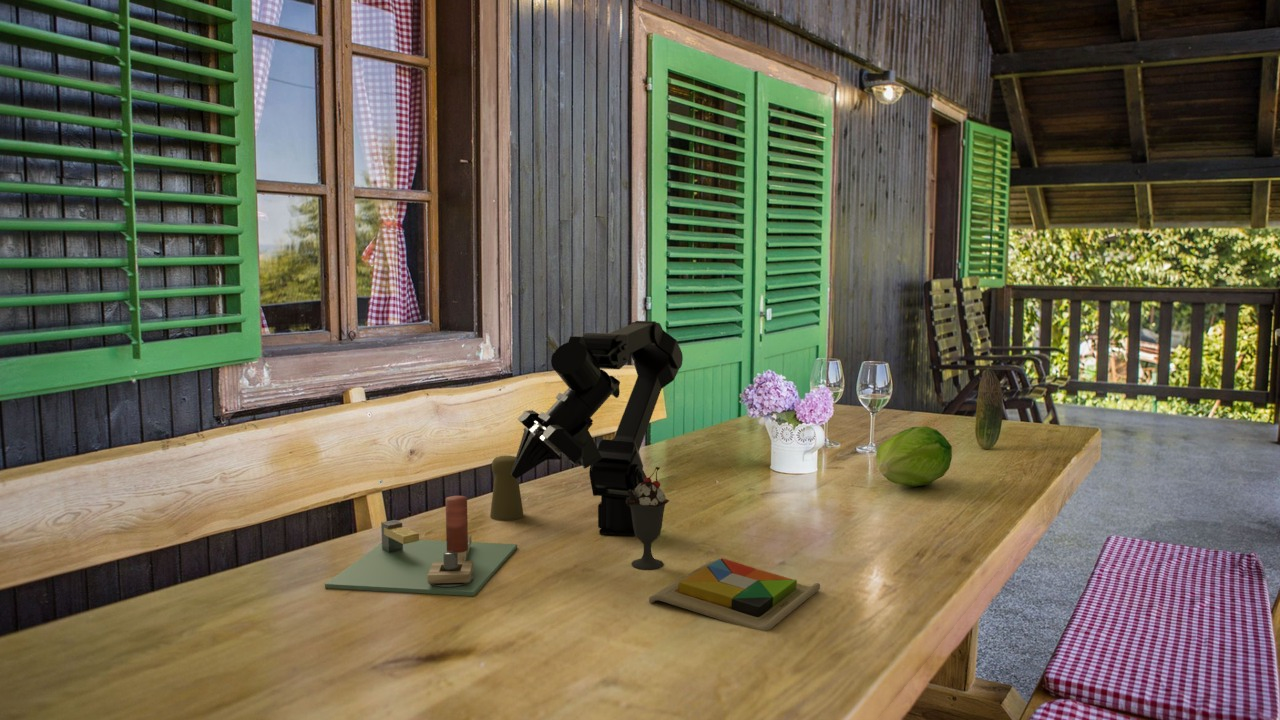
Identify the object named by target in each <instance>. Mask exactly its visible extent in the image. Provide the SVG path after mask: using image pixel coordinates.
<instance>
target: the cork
mask: <svg viewBox="0 0 1280 720" xmlns="http://www.w3.org/2000/svg"><path fill="white" fill-rule="evenodd" d="M515 459H516V456H515V455H500V456H495V457H494V458H493V460H492V461H491V472H492V473H493V474H494V477H493V478H494V479H493V487H492V496H491V499H492V500H491V506H490V514H489V515H490V516H489V517H490V518H491V519H493V520H496V521H505V522H506V521H507V522H508V521H516V520H519V519H521V518H523V517H524V516H525V515H524V509H523V502H522V495H521V489H520V483H519V478H517V479H516V478H514V477H513V476H512V475H511V471H512V468H513V465H514V462H515Z"/></svg>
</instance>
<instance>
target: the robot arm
mask: <svg viewBox="0 0 1280 720" xmlns="http://www.w3.org/2000/svg"><path fill="white" fill-rule="evenodd" d="M568 338H569V339H568V342H565V343H563V344H562V345H560V346H559V347H558V348H556V350H555V351H554V352H553V353H552V355H551V358H550V364H551V367H552V369H553V370H554V372H555V373H556V374H557V375H558V376H559V377H560V378H561V380H562V381H563V382H564V384H565V385H566V386H567V388H568V389H566V390H565V391H564V393H562V392H559V393H557V395H556V396H555V399H556V401H555V403H553V405H552V406H551V407H550V408H549V409H548V410H547V411H546V412H543V411H541V412H540V413H538V412H536V411H535V410H532V409H531V410H524V411H523V413H522V414H521V415H520V416H519V417H518V418H517V421H519V422H520V423H521V424H522V425H523V426H524V428H523V433H522V437H521V441H520V443H519V444H520V445H519V447H518V451H517V453H516V456H515V457H516V459H515V462H514V465H513V468H512V471H511V475H512V476H513V477H514V478H516V479H517V478H518V479H519V478H520V477H522V476H523V475H525V474H526V473H528V472H530V471H531V470H532V469H535V467H537V466H539V465H540V464H542V463H544V462H546V461H548V460H550V461H551V460H554V461H555V460H557V461H562V460H563V457H562V456H561V454H563V455H564V456H565V457H567V459H568V461H569V462H570V463H572V464H573V465H574V466H577V464H578V466H582V469H585V470H586V469H587V468H589V471H588V473H589V479H590V480H589V481H590V485H591V486H590V487H591V491H592V495H593V496H595V497H597V496H599V497H600V502H599V503H598V505H597V527H598V528H599V531H598V533H599V534H600V535H611V536H612V535H614V536H635V533H634V528H633V521H632V513H631V508H630V506H627V504H626V499H627V498H628V497H630V496H629V495H628V492H627V491H628V490H629V489H631V491H632V492H633V494H634V491H635V488H636V487H637V486H638V485H639V483H642V482H643V481H644V480H645V478H648V477H647V475H646V473H645V471H644V464H643V461H642V457H641V455H640V449H641V447H642V443H643V441H644V438H645V436H646V433H647V429H648V428H649V424H650V423H651V422H650V421H651V420H652V416H653V414H654V411H655V408H656V406H657V403H658V400H659V397H660V394H661V391H662V389H664V388H665V387H666V386H668V385H669V384H670V383H672V382H674V380H675V378H676V376H677V375H678V373H679V369H680V370H681V368H682V365H683V358H684V357H683V352H682V349H681V347H680V344H679V343H678V341H677V339H676V338H674V336H672V335H670V333H668V332H666V331H665V330H664V329H663V327H662V325H661V323H660V322H657V321H655V320H635V321H632V322H631V324H628V325H626V326H623V327H621V328H619V329H616V330H614V331H610V332H608V333H606V332H605V333H604V332H586V333H584V334H583V335H582V336H581V335H579V336H575V335H574V336H572V335H570V336H569V337H568ZM629 355H630V357H631V359H632V361H633V365H634V366H633V367H634V369H635V370H636V374H637V376H636V380H635V382H634V385H633V387H632V391H631V393H630V396H629V398H628V400H627V402H626V406H625V409H624V411H623V413H622V416H621V419H620V421H619V423H618V426H617V430H616V432H615V434H614V436H613V438H612V439H605V438H604V439H601V441H600V442H599V444H598V446H597V445H596V442H595V440H594V438H593V436H592V435H591V433H590V431H589V429H590V428H591V427H592V426H593V422H594V420H593V418H592V417H593V416H594V414H596V412H597V411H598V410H599V409H600V408H601V407H602V406H603V404H605V403H606V401H607V400H608V399H609V398H610V397H611V396H613V397H614V398H616V399H618V398H619V397H620V385H621V381H620V380H619V379H617V378H616V377H615V376H614V375H609V374H608V372H606V371H605V370H621V369H622V368H623V367H624V366H625V365H626V364H627V363H629ZM635 537H636V536H635Z"/></svg>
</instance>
